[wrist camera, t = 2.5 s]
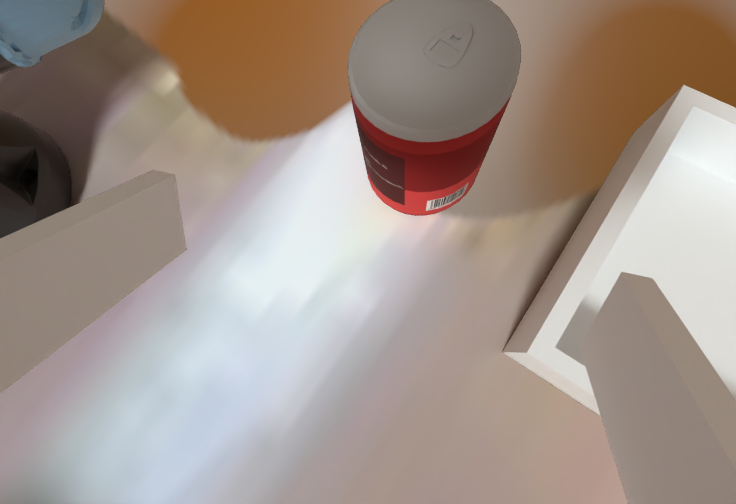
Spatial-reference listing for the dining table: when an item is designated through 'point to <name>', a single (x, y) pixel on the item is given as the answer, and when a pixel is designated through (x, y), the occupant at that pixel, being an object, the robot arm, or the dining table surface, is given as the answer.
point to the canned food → (430, 96)
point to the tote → (648, 244)
